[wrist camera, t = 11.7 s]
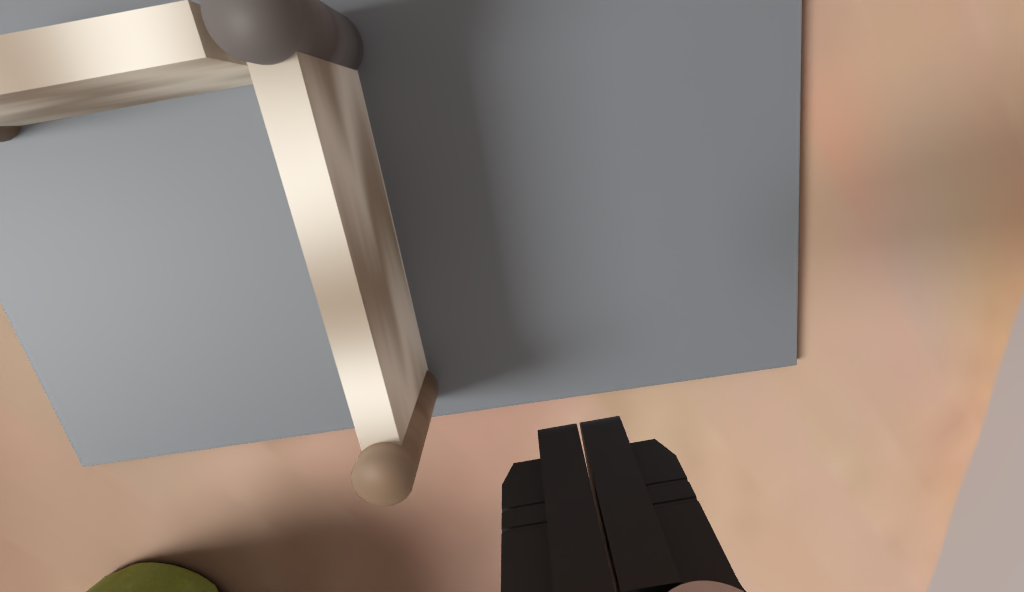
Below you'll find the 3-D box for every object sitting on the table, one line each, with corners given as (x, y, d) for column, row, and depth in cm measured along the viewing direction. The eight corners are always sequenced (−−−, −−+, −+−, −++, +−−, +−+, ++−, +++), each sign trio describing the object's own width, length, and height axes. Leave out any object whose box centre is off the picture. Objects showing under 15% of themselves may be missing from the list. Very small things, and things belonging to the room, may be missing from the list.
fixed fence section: (-23, 146, 18) (-275, 158, 12) (-52, 84, 17) (-333, 67, 12) (301, 89, 17) (197, 73, 12) (283, 23, 17) (164, -28, 11)
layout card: (-215, -151, 16) (-237, -160, 15) (799, -366, 14) (809, -382, 14) (89, 460, 23) (80, 468, 22) (791, 360, 21) (797, 366, 21)
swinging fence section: (292, 17, 16) (187, -33, 11) (354, 6, 16) (277, -50, 11) (395, 410, 21) (356, 509, 15) (445, 403, 21) (422, 501, 15)
